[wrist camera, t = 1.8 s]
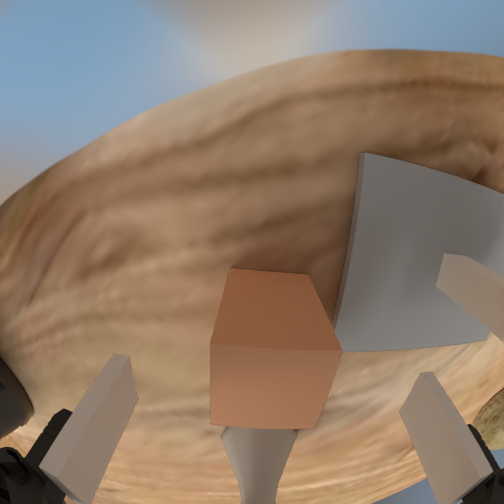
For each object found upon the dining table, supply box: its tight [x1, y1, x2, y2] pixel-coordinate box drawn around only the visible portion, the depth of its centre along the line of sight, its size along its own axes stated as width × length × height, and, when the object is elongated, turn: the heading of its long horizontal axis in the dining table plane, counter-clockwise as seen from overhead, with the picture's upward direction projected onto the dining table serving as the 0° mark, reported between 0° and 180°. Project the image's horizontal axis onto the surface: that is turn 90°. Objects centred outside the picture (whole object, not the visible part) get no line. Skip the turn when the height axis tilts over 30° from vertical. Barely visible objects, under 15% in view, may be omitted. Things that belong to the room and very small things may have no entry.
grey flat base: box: [331, 152, 504, 352], centre depth 13 cm, size 18×14×10 cm
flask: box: [221, 426, 297, 504], centre depth 19 cm, size 7×7×10 cm
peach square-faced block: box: [210, 268, 343, 429], centre depth 15 cm, size 5×5×9 cm
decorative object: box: [473, 389, 504, 450], centre depth 22 cm, size 9×10×10 cm
